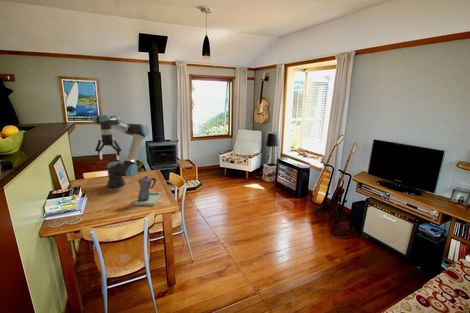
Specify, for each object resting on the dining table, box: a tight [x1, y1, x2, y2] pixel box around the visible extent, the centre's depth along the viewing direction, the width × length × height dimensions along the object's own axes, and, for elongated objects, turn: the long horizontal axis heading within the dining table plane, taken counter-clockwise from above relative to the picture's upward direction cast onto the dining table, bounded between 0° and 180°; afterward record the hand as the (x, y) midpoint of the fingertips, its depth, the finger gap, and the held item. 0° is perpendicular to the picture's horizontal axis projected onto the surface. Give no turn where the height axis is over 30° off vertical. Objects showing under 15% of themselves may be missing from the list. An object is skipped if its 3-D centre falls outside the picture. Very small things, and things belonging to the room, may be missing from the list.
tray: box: [133, 191, 162, 207], centre depth 201 cm, size 21×16×2 cm
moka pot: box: [137, 176, 157, 200], centre depth 199 cm, size 10×15×20 cm, turn 137°
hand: (109, 159), depth 199 cm, fingers open, 13 cm apart
